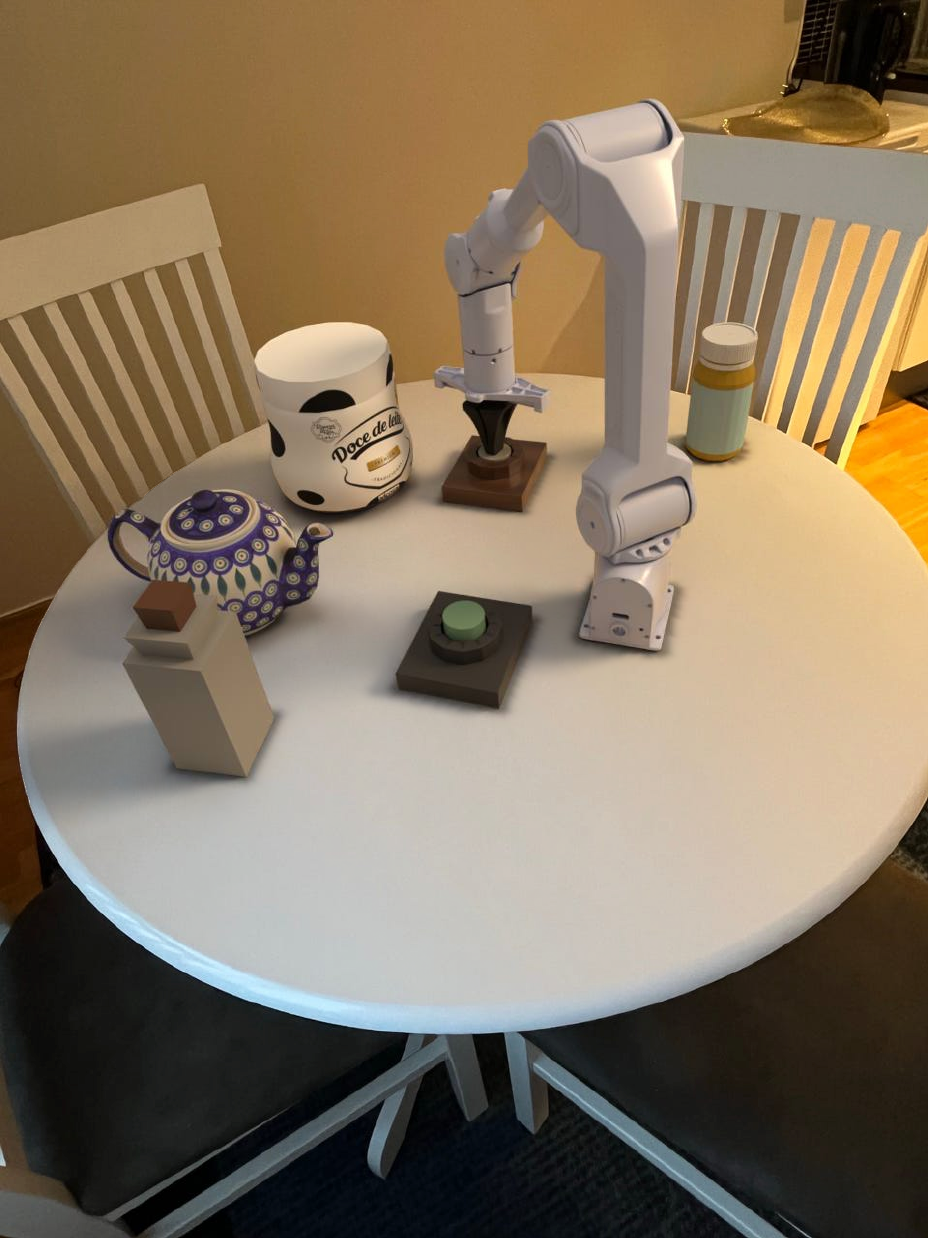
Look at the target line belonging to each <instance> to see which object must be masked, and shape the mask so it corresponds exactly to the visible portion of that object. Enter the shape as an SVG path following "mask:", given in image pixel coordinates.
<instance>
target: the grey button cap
mask: <svg viewBox="0 0 928 1238" xmlns="http://www.w3.org/2000/svg"><path fill="white" fill-rule="evenodd" d="M478 456H479V458H480V459H481V460H483V461H489V462H497V461H503V460H505V459H507V458H509V457H510V456H511V448H510V447H509V446H508V445H507V444H505V443H504V447H503V449H502V450H501V451H500V452H499V453H498V454H497V455H496V456H493V455H490V454H486V452H485V449H484V447H483V446H481V447H480V448H479V450H478Z"/></svg>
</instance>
